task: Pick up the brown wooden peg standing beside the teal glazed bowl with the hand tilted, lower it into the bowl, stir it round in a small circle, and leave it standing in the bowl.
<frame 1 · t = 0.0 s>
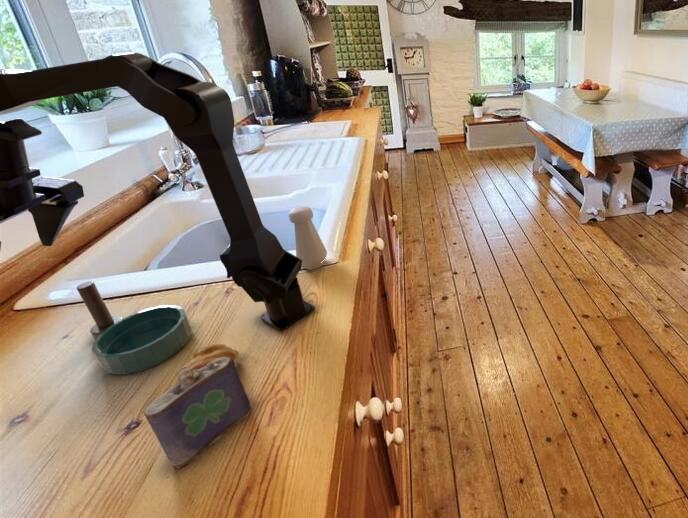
hand: (20, 261, 61), 15 cm above the worktop, tool pointing down, fingers open, 9 cm apart
pastry: (213, 382, 59), on the worktop
bowl: (150, 348, 65), on the worktop
flask: (214, 434, 51), on the worktop
brown wooden peg: (111, 333, 69), on the worktop
salt shaker: (314, 265, 86), on the worktop
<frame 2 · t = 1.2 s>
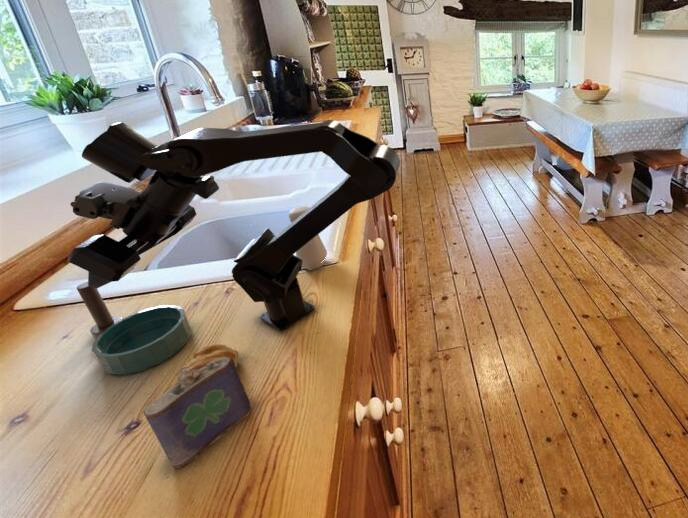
hand: (115, 268, 64), 12 cm above the worktop, tool tilted 45°, fingers open, 9 cm apart
nothing on the worktop moved.
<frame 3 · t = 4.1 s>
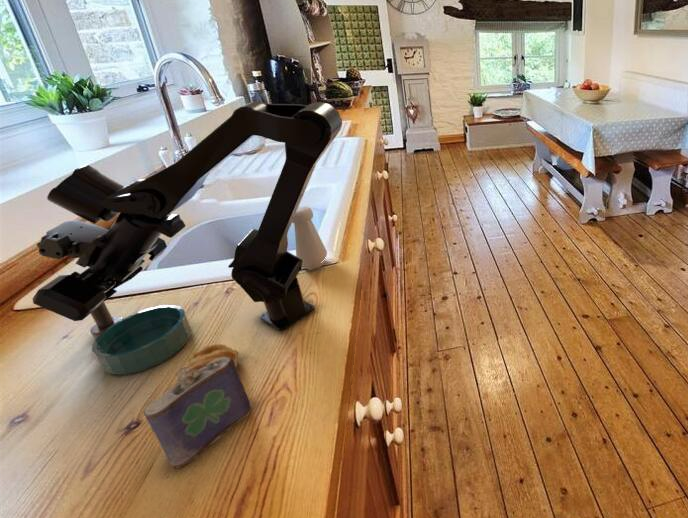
hand: (84, 303, 66), 7 cm above the worktop, tool tilted 45°, fingers closed on brown wooden peg, 2 cm apart
brown wooden peg: (111, 333, 69), on the worktop, touching gripper
everything else where it was.
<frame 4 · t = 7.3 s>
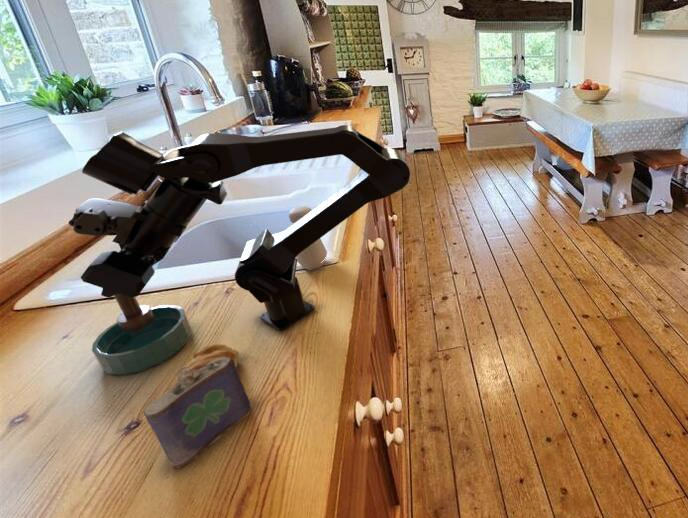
hand: (109, 291, 60), 12 cm above the worktop, tool tilted 45°, fingers closed on brown wooden peg
brown wooden peg: (138, 323, 63), point 5 cm above the worktop, touching gripper
everything else where it was.
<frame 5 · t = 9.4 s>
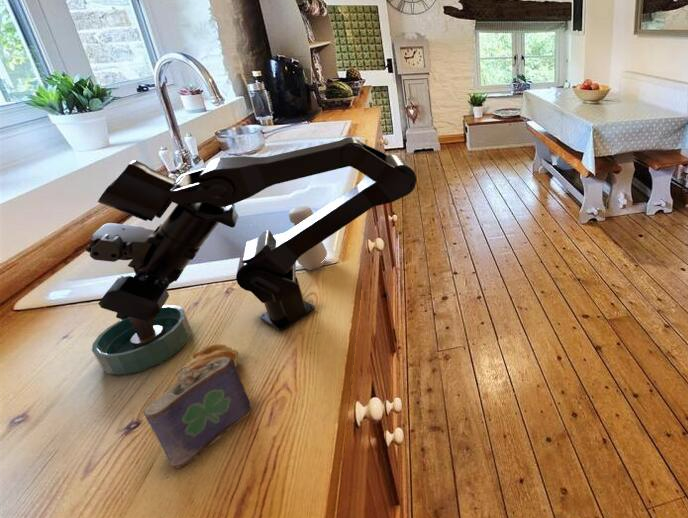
hand: (123, 313, 61), 8 cm above the worktop, tool tilted 45°, fingers closed on brown wooden peg, 2 cm apart
brown wooden peg: (151, 343, 64), point 1 cm above the worktop, touching gripper
everything else where it was.
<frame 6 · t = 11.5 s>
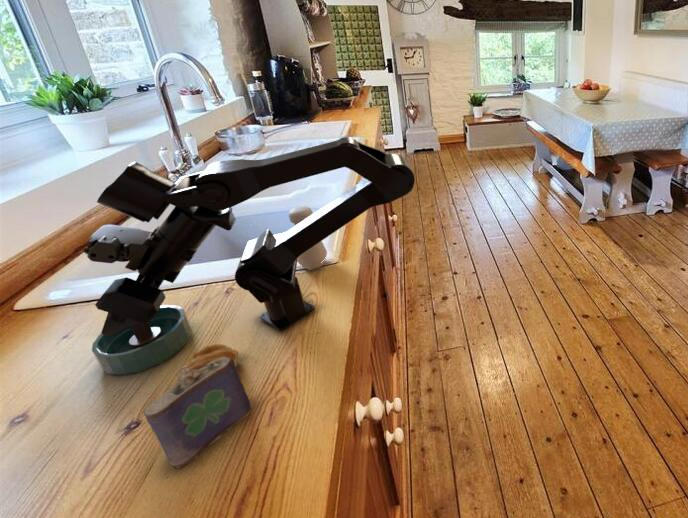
hand: (120, 314, 62), 7 cm above the worktop, tool tilted 45°, fingers open, 9 cm apart
brown wooden peg: (149, 345, 65), point 1 cm above the worktop, touching bowl
everything else where it was.
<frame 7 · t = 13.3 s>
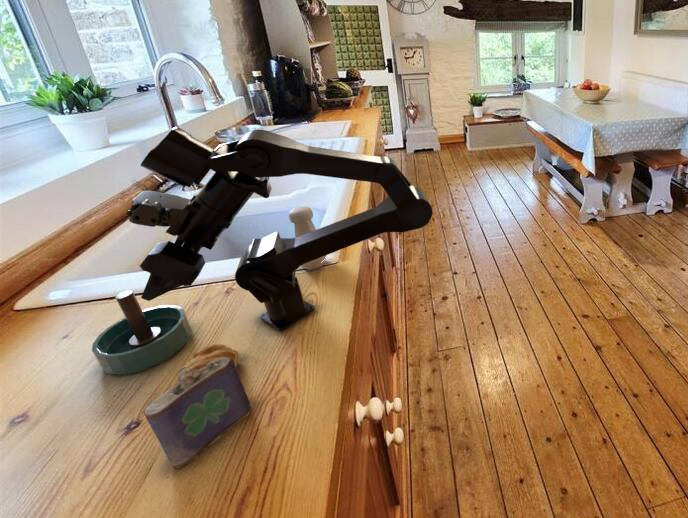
hand: (157, 281, 62), 12 cm above the worktop, tool tilted 45°, fingers open, 9 cm apart
nothing on the worktop moved.
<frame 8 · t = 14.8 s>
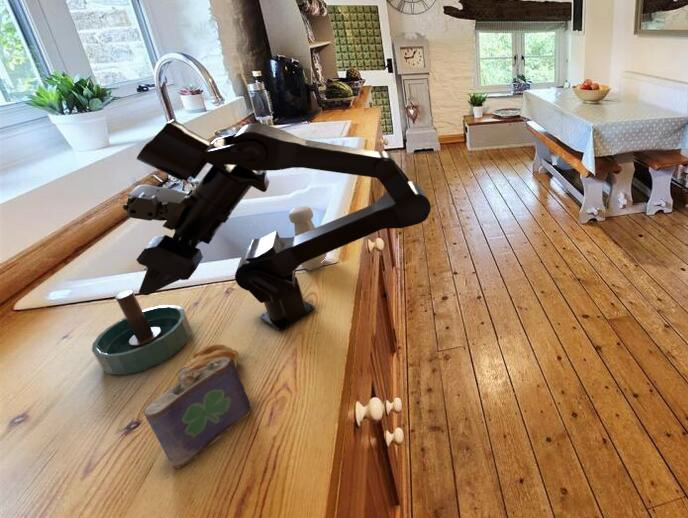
hand: (155, 276, 62), 13 cm above the worktop, tool tilted 45°, fingers open, 9 cm apart
nothing on the worktop moved.
at the end: brown wooden peg 0.1 cm from the bowl (horizontally); brown wooden peg tilted 0°; the gripper is holding nothing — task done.
